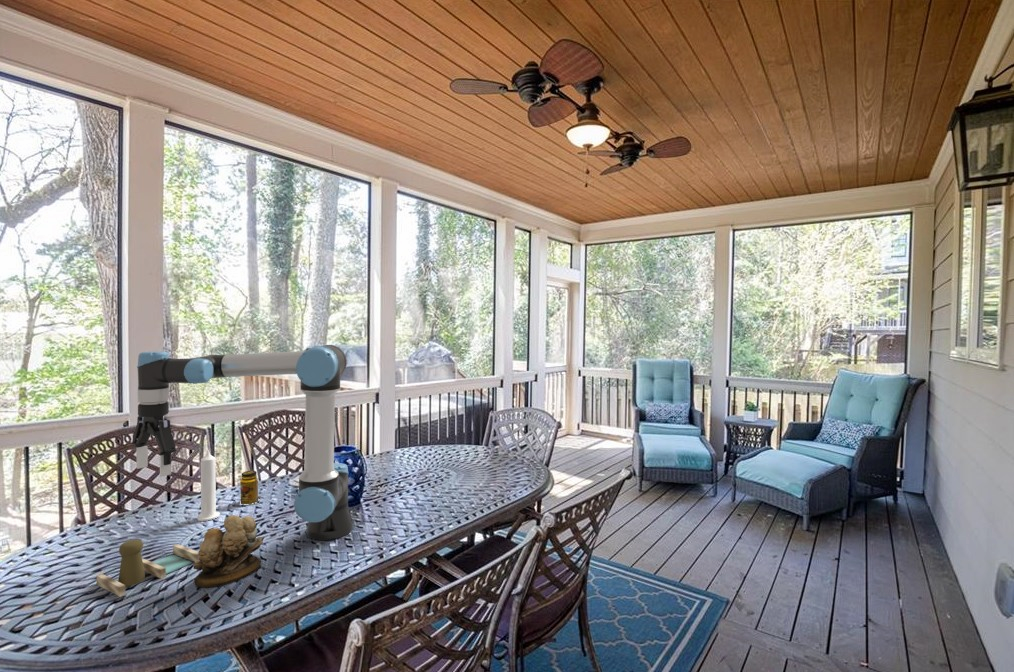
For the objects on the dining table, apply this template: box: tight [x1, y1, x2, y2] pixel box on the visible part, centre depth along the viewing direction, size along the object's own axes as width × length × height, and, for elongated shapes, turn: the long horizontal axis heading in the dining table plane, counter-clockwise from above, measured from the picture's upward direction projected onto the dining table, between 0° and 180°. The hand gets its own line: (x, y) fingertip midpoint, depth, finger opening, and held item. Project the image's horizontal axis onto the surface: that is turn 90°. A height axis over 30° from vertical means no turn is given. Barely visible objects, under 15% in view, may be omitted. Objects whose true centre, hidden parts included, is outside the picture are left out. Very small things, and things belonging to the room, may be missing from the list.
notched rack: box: [95, 532, 206, 598], centre depth 139 cm, size 12×30×2 cm, turn 154°
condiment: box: [239, 470, 262, 505], centre depth 188 cm, size 7×8×12 cm
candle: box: [196, 449, 221, 522], centre depth 172 cm, size 7×7×25 cm
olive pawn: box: [117, 539, 146, 588], centre depth 131 cm, size 6×6×11 cm
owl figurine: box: [192, 514, 264, 589], centre depth 135 cm, size 18×12×17 cm, turn 142°
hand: (153, 471), depth 144 cm, fingers open, 13 cm apart
